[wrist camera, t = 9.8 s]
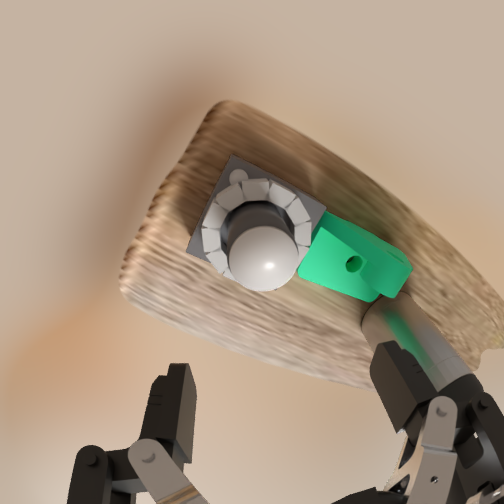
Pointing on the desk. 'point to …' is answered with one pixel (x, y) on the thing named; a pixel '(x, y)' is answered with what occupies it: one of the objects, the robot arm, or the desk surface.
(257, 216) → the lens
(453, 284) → the desk surface
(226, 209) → the segmented ring socket plate
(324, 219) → the camera mount
